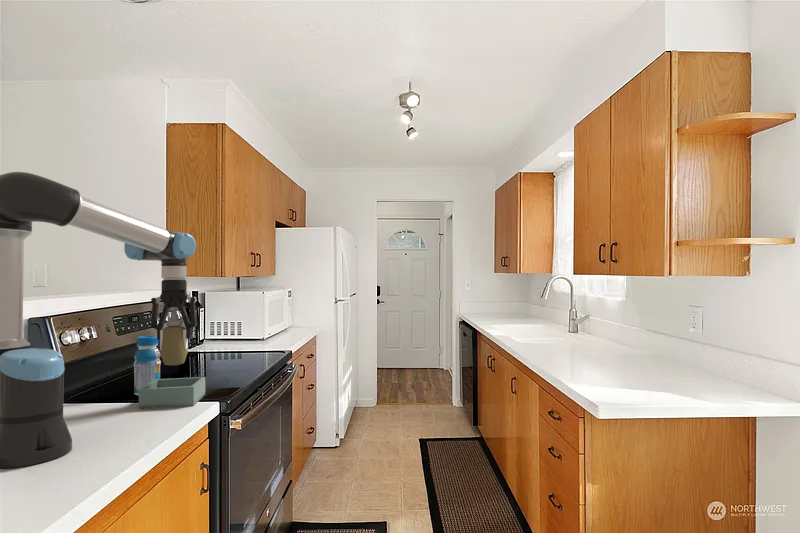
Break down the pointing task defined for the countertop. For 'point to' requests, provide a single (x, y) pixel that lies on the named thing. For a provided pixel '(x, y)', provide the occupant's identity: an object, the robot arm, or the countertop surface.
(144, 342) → the beverage bottle
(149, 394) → the box
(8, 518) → the countertop surface
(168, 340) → the squeeze bottle
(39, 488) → the countertop surface
